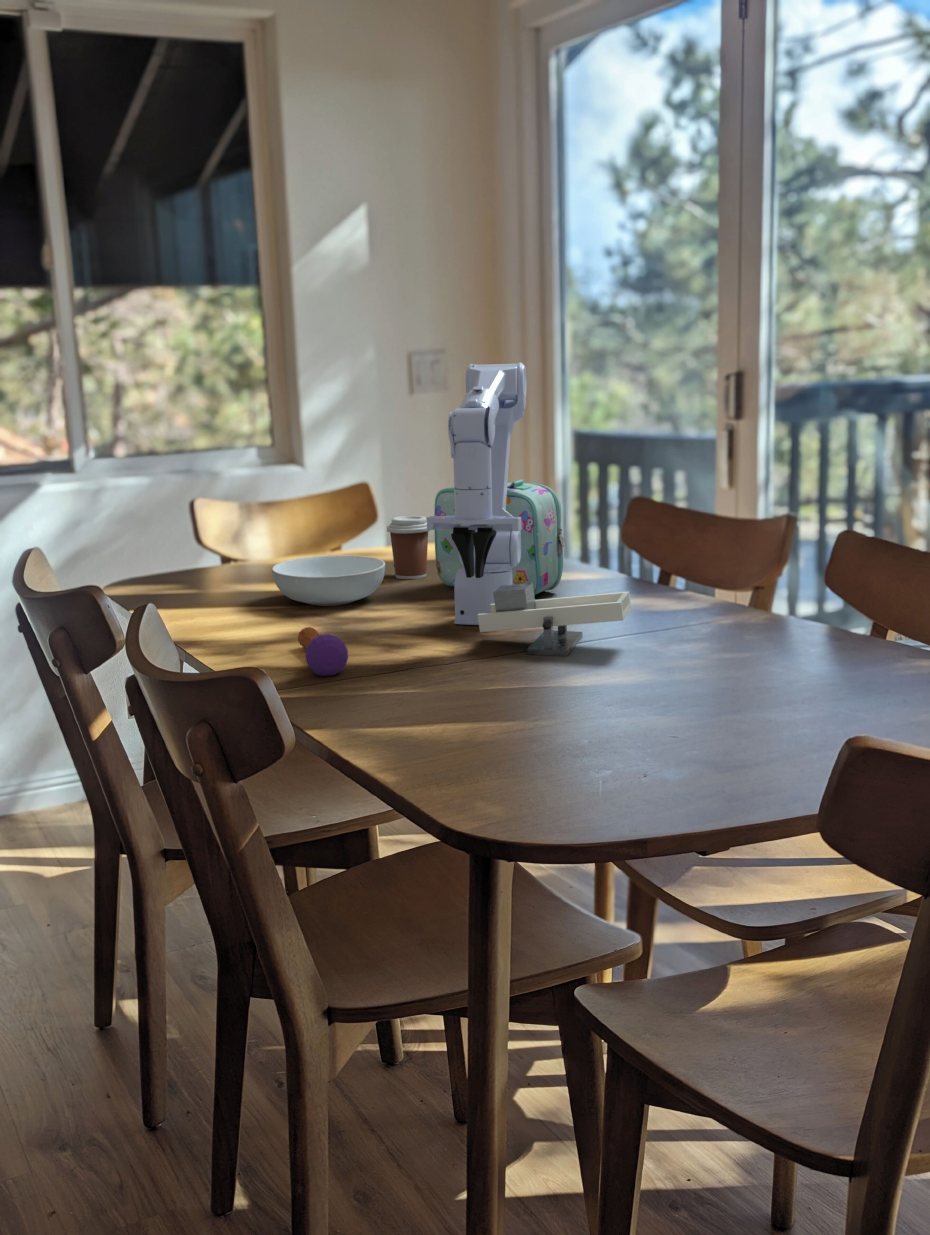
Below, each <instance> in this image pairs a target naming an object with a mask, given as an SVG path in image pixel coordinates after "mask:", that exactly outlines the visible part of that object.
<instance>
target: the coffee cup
mask: <svg viewBox="0 0 930 1235" xmlns="http://www.w3.org/2000/svg"><path fill="white" fill-rule="evenodd" d="M429 531H431V530H427V516H423V515H403V516H402V515H401V516H400V515H399V516H395V517H392V518H391V523H390V524H389V525H388V526H386V532H388V533H390V542H391V543H390V544H391V550H392V560H393V567H394V575H395V577H396V578H395V579H399V580H419V579H420V580H421V579H424V578H426V577H427V570H428V569H427V564H428V546H429V545H428V543H429V541H428V540H429Z"/></svg>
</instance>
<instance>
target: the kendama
mask: <svg viewBox="0 0 930 1235" xmlns="http://www.w3.org/2000/svg"><path fill="white" fill-rule="evenodd" d="M297 641H298V643H299V645H301V647H303V648H305V649H306V650H305V652H304V656H305V662H306V663H307V666H308V667H309V669H310V670H311V671H313V673H315V675H318V676H321V677H331V676H333V677H334V676H335V675H337V674H339V673H341V672H342V670H344V668H345V667H346V665H347V662H348V660H349V654H348V653H349V650H348V648H347V647H346V644H345V642H344V641H343V640H341V639H340V638H339V637H338V636H336V635H335V634H334V635H333V634H330V633H325V634H319V633H318V630H316V628H314V627H311V626H309V627H304V628H302V629H301V630H300V631H299V633H298V635H297Z"/></svg>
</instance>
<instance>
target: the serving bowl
mask: <svg viewBox="0 0 930 1235" xmlns="http://www.w3.org/2000/svg"><path fill="white" fill-rule="evenodd" d="M385 572H386V563H385V561H384V560H382V559H380V558H377V557H372V556H365V555H354V554H353V555H349V554H338V555H335V554H334V555H330V554H329V555H315V556H306V557H299V558H294V559H293V558H292V559H290V560H285V561H282V562H278V563H276V564H275V565H273V566H272V568H271V573H272V576H273V580H274V583H275V585H276V587H277V589H278V590H279V591H280V592H281V593H282V594H283V595H284V596H285V597H287V598H289V599H290V600H294V601H295V602H300V603H305V604H309V605H311V606H317V605H318V606H321V607H329V606H330V607H332V606H342V605H343V606H344V605H348V604H351V603H353V602H355V601H358V600H362V599H364V598H366V597H368V596H370V595H372V594H373V593H374V592H376V591H377V589H379V587H380V586H381V584H382V583H383V580H384V577H385Z"/></svg>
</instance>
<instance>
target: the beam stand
mask: <svg viewBox="0 0 930 1235" xmlns="http://www.w3.org/2000/svg"><path fill="white" fill-rule="evenodd" d="M567 628H568V625H562V626H557V630H554V626H553V617H544V618H543V627H542V629H543V632H542V633H541V634H540V635H539V636H538V637H537V638H536V639H535V640H533V642H532V643H531V644H530V645H529V647H528V648H527V650H526V651H527V652H526V654H527V655H537V656H557V657H559V656H560V657H568V656H569V655H570V653H571V652H572V651H573V649H574V648H575V647H576V645H577V644H578V643H579V642H580V640H581V639H582V638H583V631H571V630H567Z"/></svg>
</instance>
